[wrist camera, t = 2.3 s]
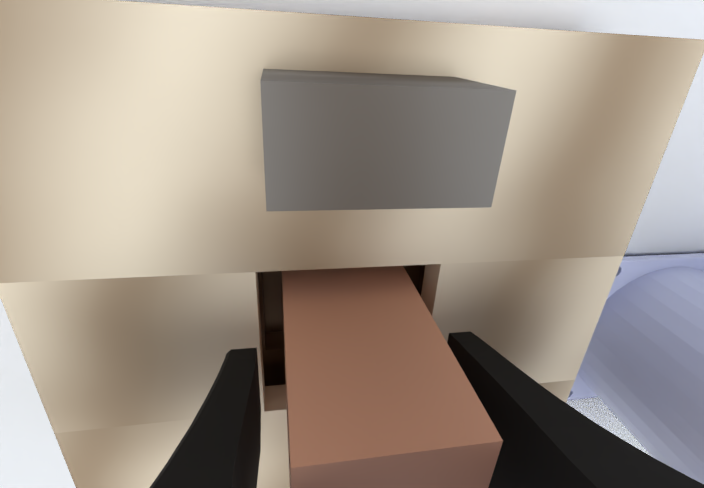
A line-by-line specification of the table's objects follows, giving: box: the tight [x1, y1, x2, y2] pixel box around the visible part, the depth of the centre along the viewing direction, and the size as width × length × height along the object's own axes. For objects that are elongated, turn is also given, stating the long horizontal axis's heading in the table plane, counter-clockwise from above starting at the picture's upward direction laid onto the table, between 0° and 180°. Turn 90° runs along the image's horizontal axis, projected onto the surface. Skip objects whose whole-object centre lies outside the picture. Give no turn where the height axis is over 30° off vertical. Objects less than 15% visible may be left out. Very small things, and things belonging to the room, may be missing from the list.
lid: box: [0, 0, 704, 488], centre depth 11 cm, size 16×16×4 cm
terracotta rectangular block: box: [282, 266, 503, 488], centre depth 11 cm, size 4×4×8 cm
